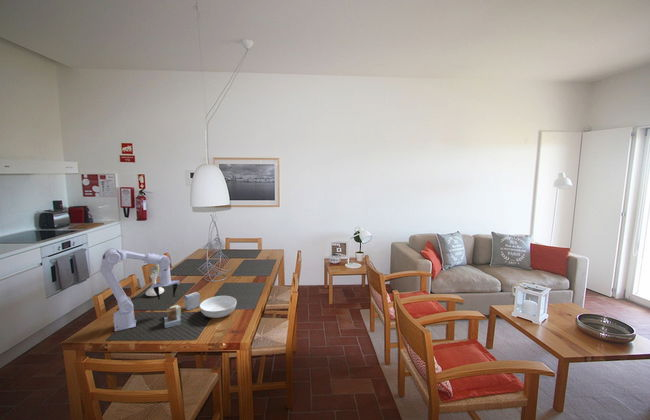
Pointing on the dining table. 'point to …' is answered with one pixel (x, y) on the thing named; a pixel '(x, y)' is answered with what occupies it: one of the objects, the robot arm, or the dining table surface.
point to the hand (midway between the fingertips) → (166, 297)
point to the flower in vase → (151, 291)
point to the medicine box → (192, 300)
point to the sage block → (177, 309)
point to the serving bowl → (218, 306)
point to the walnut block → (172, 314)
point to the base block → (172, 322)
